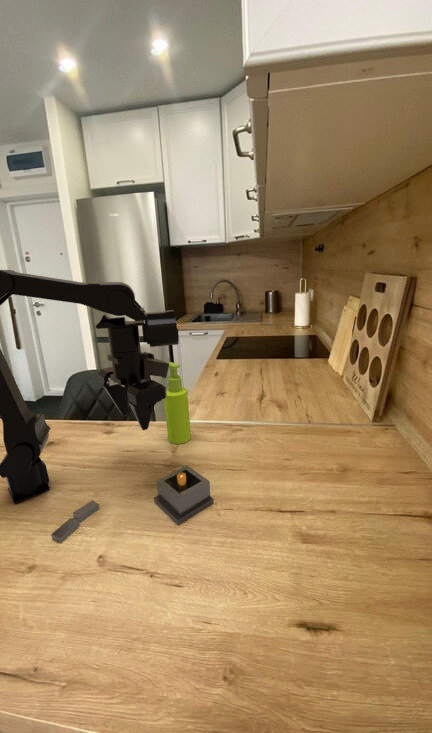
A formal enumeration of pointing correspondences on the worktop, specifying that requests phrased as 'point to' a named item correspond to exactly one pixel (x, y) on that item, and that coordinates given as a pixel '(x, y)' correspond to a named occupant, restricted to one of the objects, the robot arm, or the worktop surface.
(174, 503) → the hollow square frame
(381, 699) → the worktop surface
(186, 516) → the keeper
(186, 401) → the soap dispenser
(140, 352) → the robot arm
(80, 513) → the grey topped wooden tile
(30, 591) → the worktop surface
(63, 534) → the wood sided gray block
